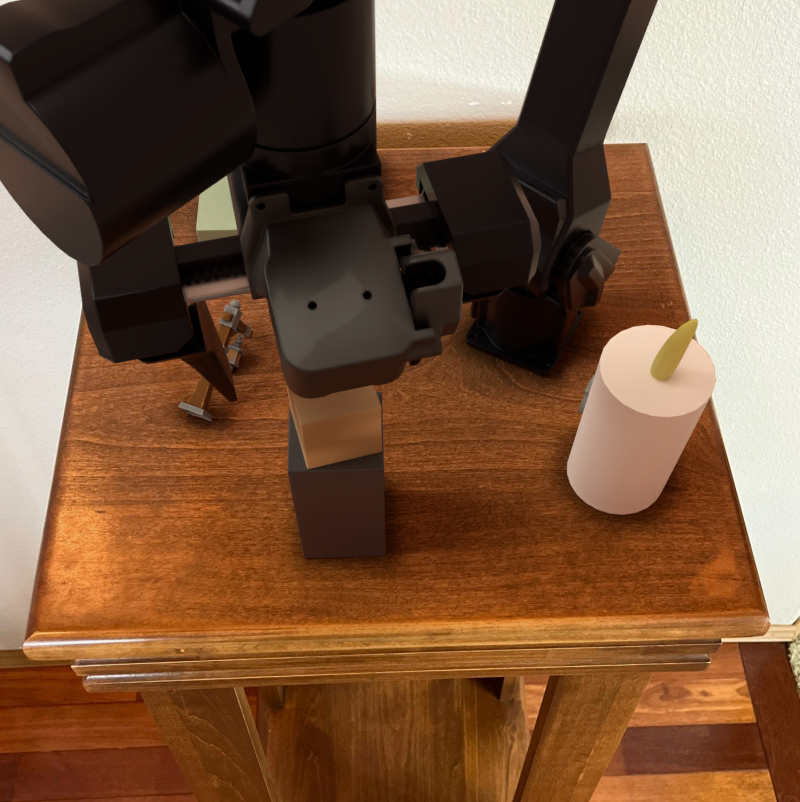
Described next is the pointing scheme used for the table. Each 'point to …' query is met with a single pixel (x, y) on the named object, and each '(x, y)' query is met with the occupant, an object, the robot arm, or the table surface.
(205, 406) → the wooden lantern post
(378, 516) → the stand
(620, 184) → the table surface
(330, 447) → the block
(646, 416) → the candle
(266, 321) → the table surface
